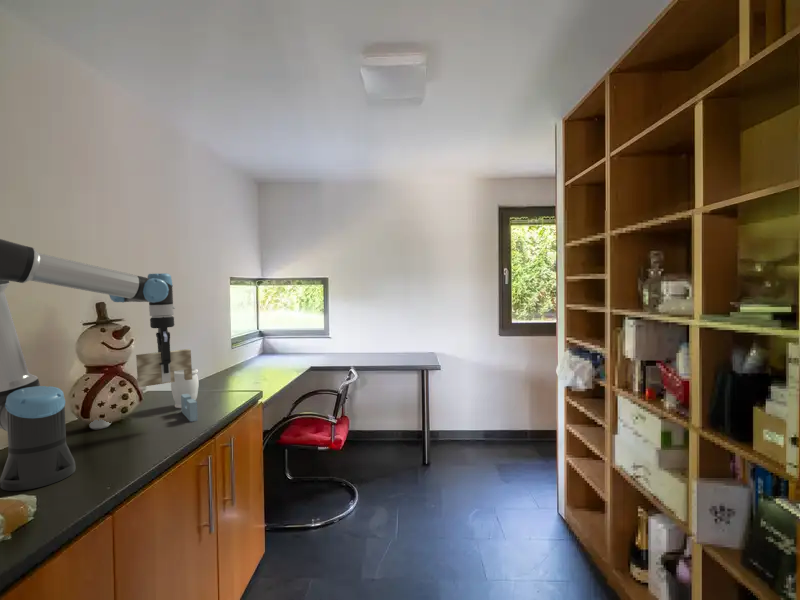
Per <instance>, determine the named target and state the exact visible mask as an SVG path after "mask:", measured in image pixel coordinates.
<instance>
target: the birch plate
mask: <svg viewBox="0 0 800 600" xmlns="http://www.w3.org/2000/svg"><path fill="white" fill-rule="evenodd" d="M135 359H136V374H137V387H138V388H144V387H150V386H157V385H165V384H171V382H175V379H174V371H178V370H184V379H185V380H191V379H192V369H193V368H192V367H193V366H192V364H193V363H192V350H191V349H190V348H187V349H177V350H170V360H171V362H170V376H171V382H164V383H162V373H161V365H159V363H161V362H162V361H161V352H158V351H157V352H151V353H149V352H148V353H141V354H140V353H139V354H135Z"/></svg>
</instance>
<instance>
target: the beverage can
mask: <svg viewBox="0 0 800 600" xmlns="http://www.w3.org/2000/svg"><path fill="white" fill-rule="evenodd" d="M111 424H112V422H111V423H109V422H106V421H104V420H102V419H101V420H100V419H99V421H98V420H94V421H93V422H91V423H90V424H89V423H88V425H89V428H90V429H91V430H102V429H106V428H108V427H110V425H111Z"/></svg>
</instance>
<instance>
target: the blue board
mask: <svg viewBox="0 0 800 600" xmlns="http://www.w3.org/2000/svg"><path fill="white" fill-rule="evenodd" d="M180 409H181V413H182V415H184V417H186V418H187V420H188V421H189V422H190V423H191V422H197V421H198V420H199V419H198V418H199V417H198V415H199V414H198V401H197V400H194V399H191V396H190V395H189V394H183V395H181V408H180Z"/></svg>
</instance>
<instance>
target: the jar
mask: <svg viewBox="0 0 800 600" xmlns="http://www.w3.org/2000/svg"><path fill="white" fill-rule="evenodd" d="M198 373H199V369H197V368H192V379H191V380H185V379H184V370H178V371H174V379H175V382H171V383H170V389H171V394H172V398H173V401H174V403H175V404H174V407H175V408H177V409H181V395H183V394H189V395H190V396H191V399H194V400H195V401H197V398H198V393H199V388H200V387H199V384H200V383H199V376H198Z"/></svg>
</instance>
